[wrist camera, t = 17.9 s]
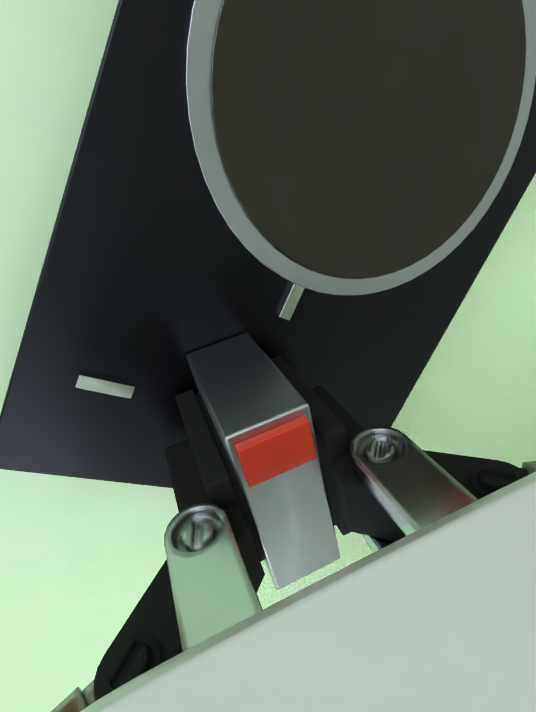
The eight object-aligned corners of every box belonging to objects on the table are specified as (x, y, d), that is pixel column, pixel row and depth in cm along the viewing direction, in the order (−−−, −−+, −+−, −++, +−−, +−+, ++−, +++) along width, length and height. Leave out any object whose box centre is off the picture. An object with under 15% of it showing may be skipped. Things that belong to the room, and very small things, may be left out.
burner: (416, 332, 14) (422, 335, 14) (122, 214, 10) (122, 215, 9) (590, 16, 12) (601, 13, 11) (304, -346, 7) (312, -364, 7)
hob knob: (282, 462, 14) (346, 566, 11) (232, 484, 14) (280, 600, 10) (247, 331, 12) (314, 409, 8) (185, 353, 11) (227, 446, 8)
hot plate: (301, 496, 19) (329, 543, 17) (-10, 459, 13) (-31, 522, 11) (537, 52, 14) (621, 33, 12) (208, -297, 9) (249, -457, 6)
